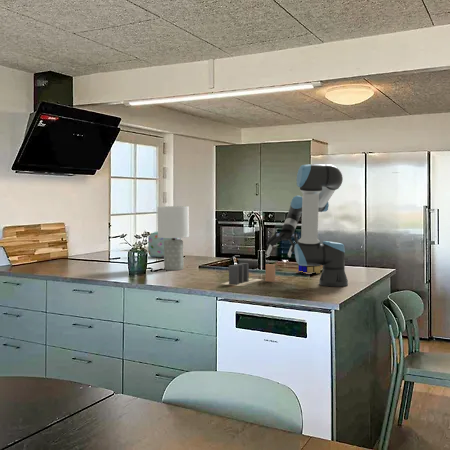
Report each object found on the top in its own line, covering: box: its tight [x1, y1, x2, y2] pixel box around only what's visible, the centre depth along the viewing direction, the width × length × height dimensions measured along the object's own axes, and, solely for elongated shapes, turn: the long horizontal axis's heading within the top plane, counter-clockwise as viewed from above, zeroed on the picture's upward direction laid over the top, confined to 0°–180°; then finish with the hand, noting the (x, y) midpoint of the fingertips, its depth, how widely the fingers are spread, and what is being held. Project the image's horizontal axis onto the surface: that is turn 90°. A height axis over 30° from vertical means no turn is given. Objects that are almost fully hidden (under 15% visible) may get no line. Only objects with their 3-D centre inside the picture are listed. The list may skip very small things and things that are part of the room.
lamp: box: [156, 205, 190, 271], centre depth 349 cm, size 21×21×42 cm
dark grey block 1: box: [228, 264, 239, 285], centre depth 285 cm, size 2×5×10 cm, turn 59°
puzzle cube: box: [298, 264, 321, 275], centre depth 328 cm, size 10×10×10 cm
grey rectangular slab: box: [233, 263, 244, 283], centre depth 290 cm, size 2×5×10 cm, turn 58°
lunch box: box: [147, 231, 182, 259], centre depth 419 cm, size 27×10×21 cm, turn 74°
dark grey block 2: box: [238, 262, 250, 282], centre depth 294 cm, size 2×5×10 cm, turn 58°
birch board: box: [220, 278, 264, 287], centre depth 293 cm, size 14×25×1 cm, turn 149°
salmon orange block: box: [265, 263, 276, 283], centre depth 293 cm, size 2×5×10 cm, turn 59°
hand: (278, 255), depth 302 cm, fingers open, 13 cm apart
